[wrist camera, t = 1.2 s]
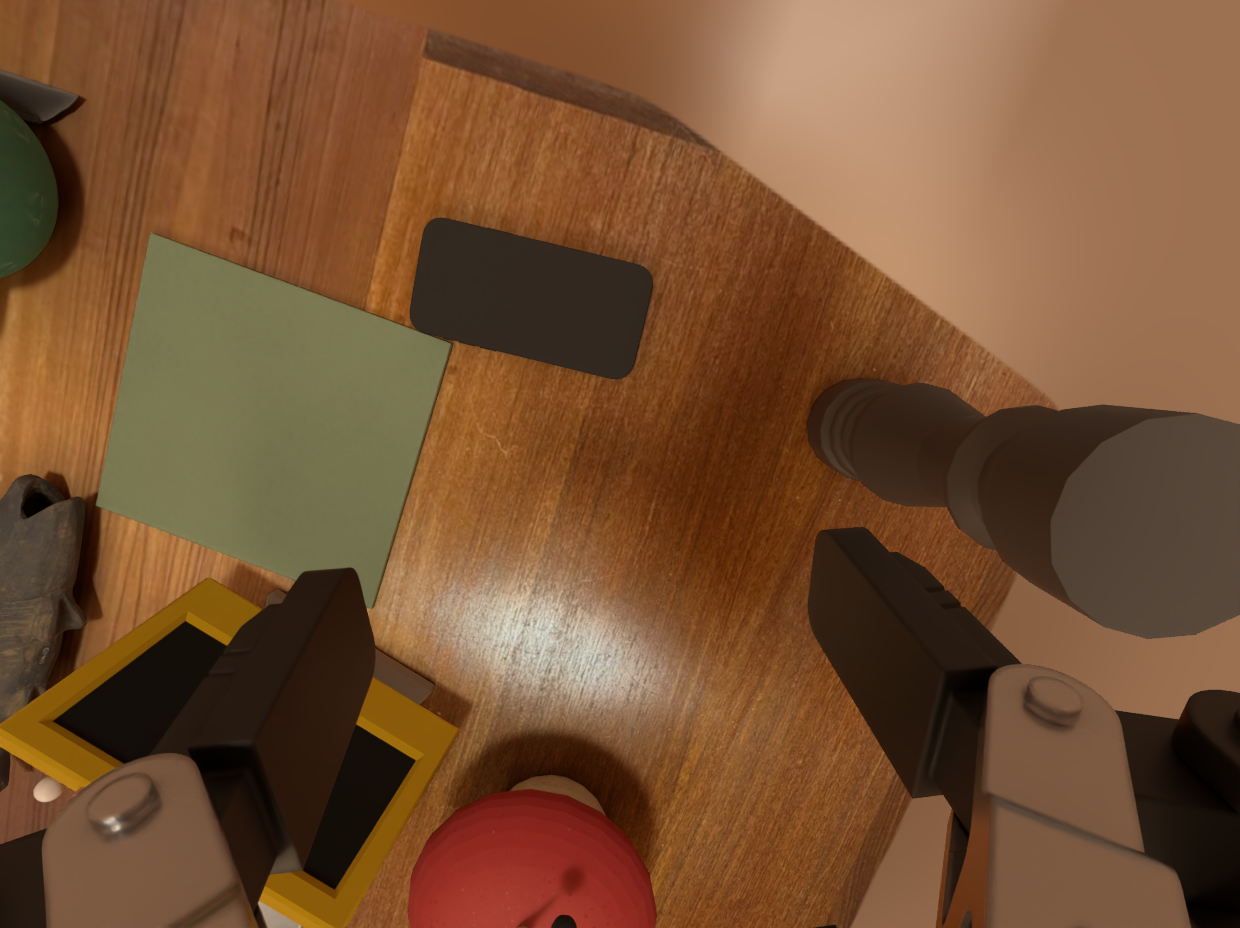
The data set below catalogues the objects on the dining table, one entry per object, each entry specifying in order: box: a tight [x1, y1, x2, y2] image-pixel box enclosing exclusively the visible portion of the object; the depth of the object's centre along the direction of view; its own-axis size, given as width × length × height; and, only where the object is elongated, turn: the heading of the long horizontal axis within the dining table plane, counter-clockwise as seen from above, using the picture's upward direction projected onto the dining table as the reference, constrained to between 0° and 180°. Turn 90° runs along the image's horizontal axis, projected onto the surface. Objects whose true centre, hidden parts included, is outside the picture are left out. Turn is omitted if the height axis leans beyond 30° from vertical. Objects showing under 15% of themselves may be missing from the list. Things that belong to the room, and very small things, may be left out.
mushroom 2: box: [408, 775, 657, 928], centre depth 38 cm, size 16×16×15 cm
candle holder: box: [807, 378, 1240, 639], centre depth 27 cm, size 6×6×25 cm
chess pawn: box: [33, 776, 66, 802], centre depth 45 cm, size 3×3×5 cm
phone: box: [410, 218, 653, 379], centre depth 39 cm, size 7×1×15 cm
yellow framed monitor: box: [0, 578, 459, 928], centre depth 37 cm, size 20×8×16 cm, turn 58°
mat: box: [96, 233, 453, 609], centre depth 42 cm, size 20×22×1 cm
